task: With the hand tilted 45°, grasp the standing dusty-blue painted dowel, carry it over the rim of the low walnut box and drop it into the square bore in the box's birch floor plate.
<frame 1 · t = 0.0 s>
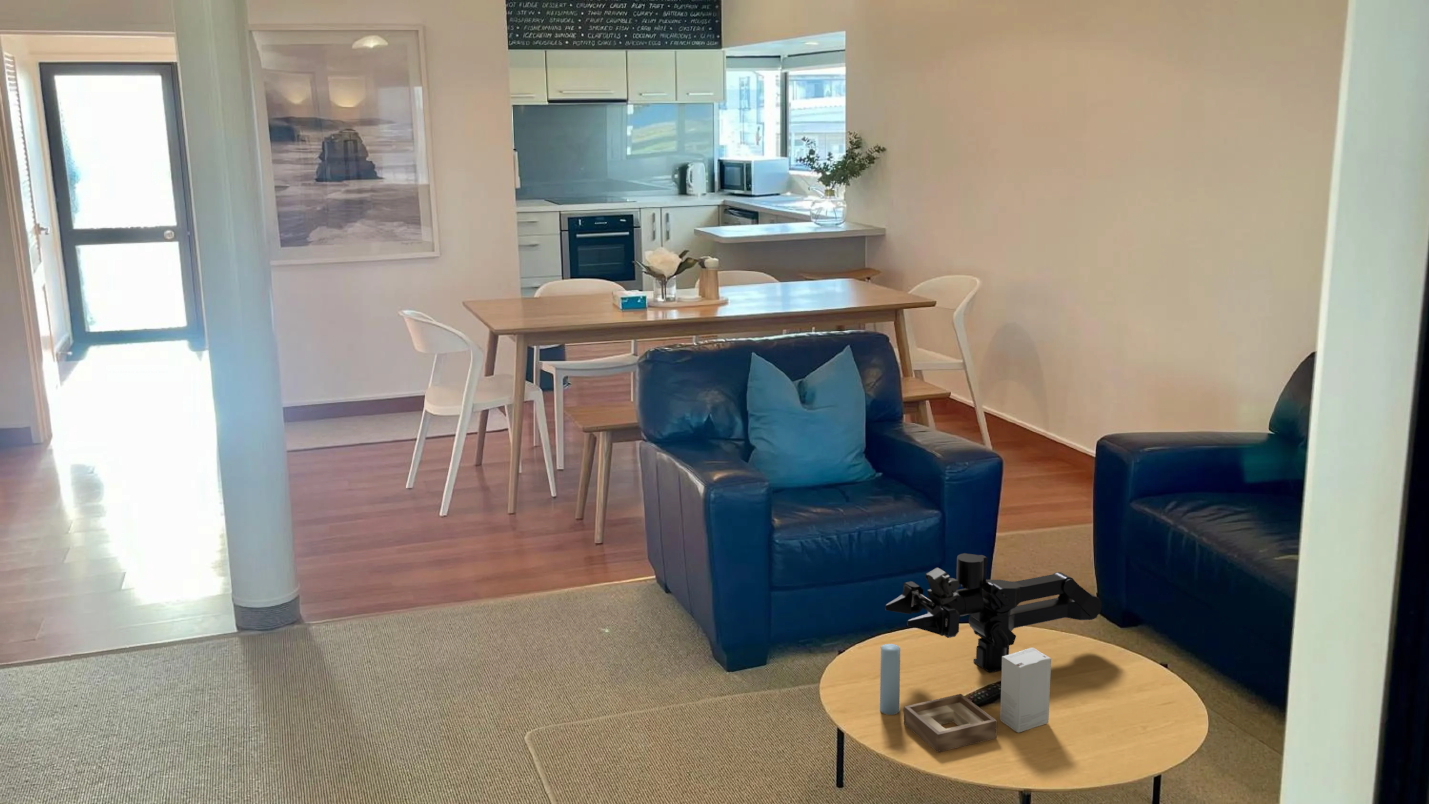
hand: (896, 615, 253), 17 cm above the table, tool horizontal, fingers open, 9 cm apart
bore box: (949, 730, 237), on the table
peg: (889, 710, 246), on the table
skincare box: (1023, 724, 239), on the table
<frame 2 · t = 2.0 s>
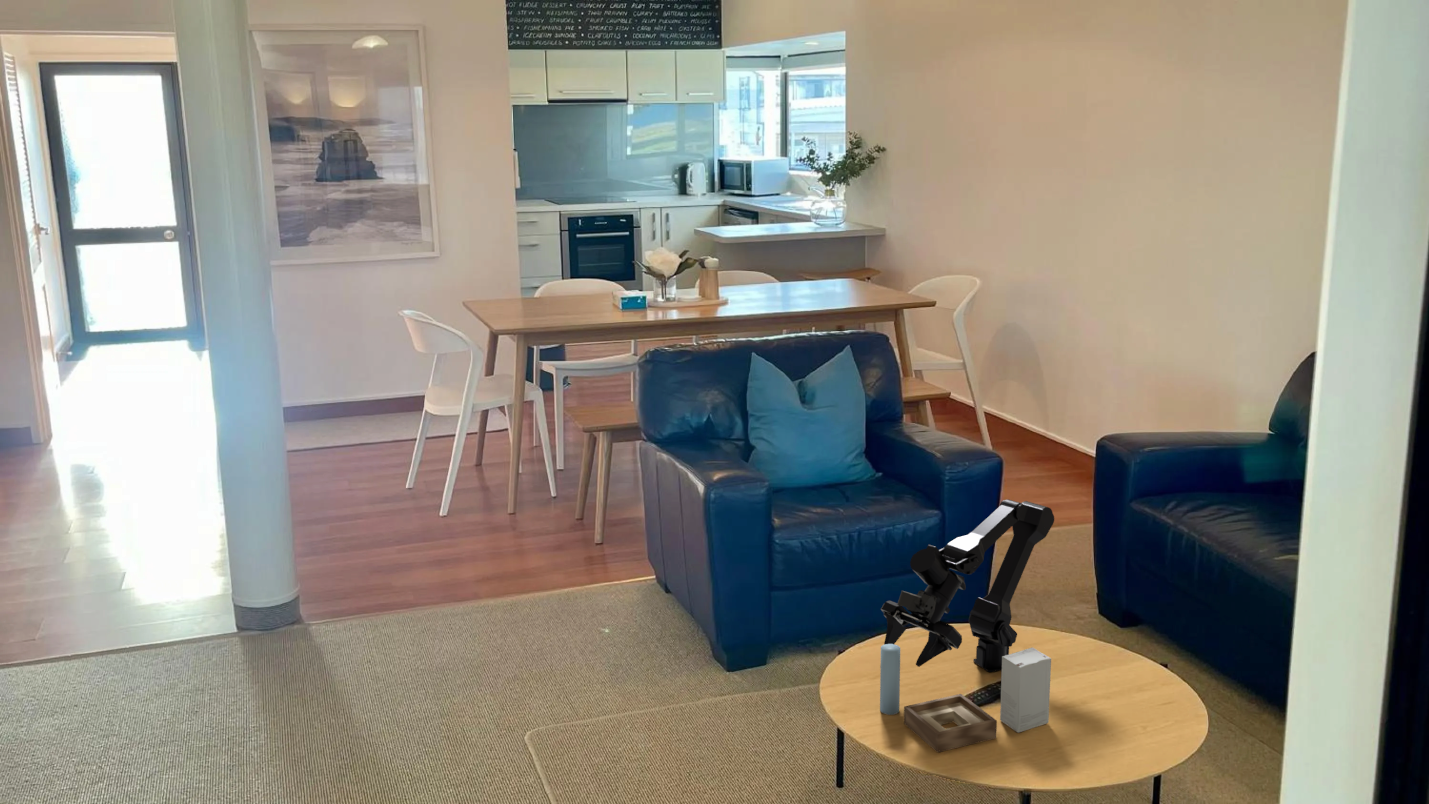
hand: (900, 658, 245), 11 cm above the table, tool tilted 45°, fingers open, 9 cm apart
nothing on the table moved.
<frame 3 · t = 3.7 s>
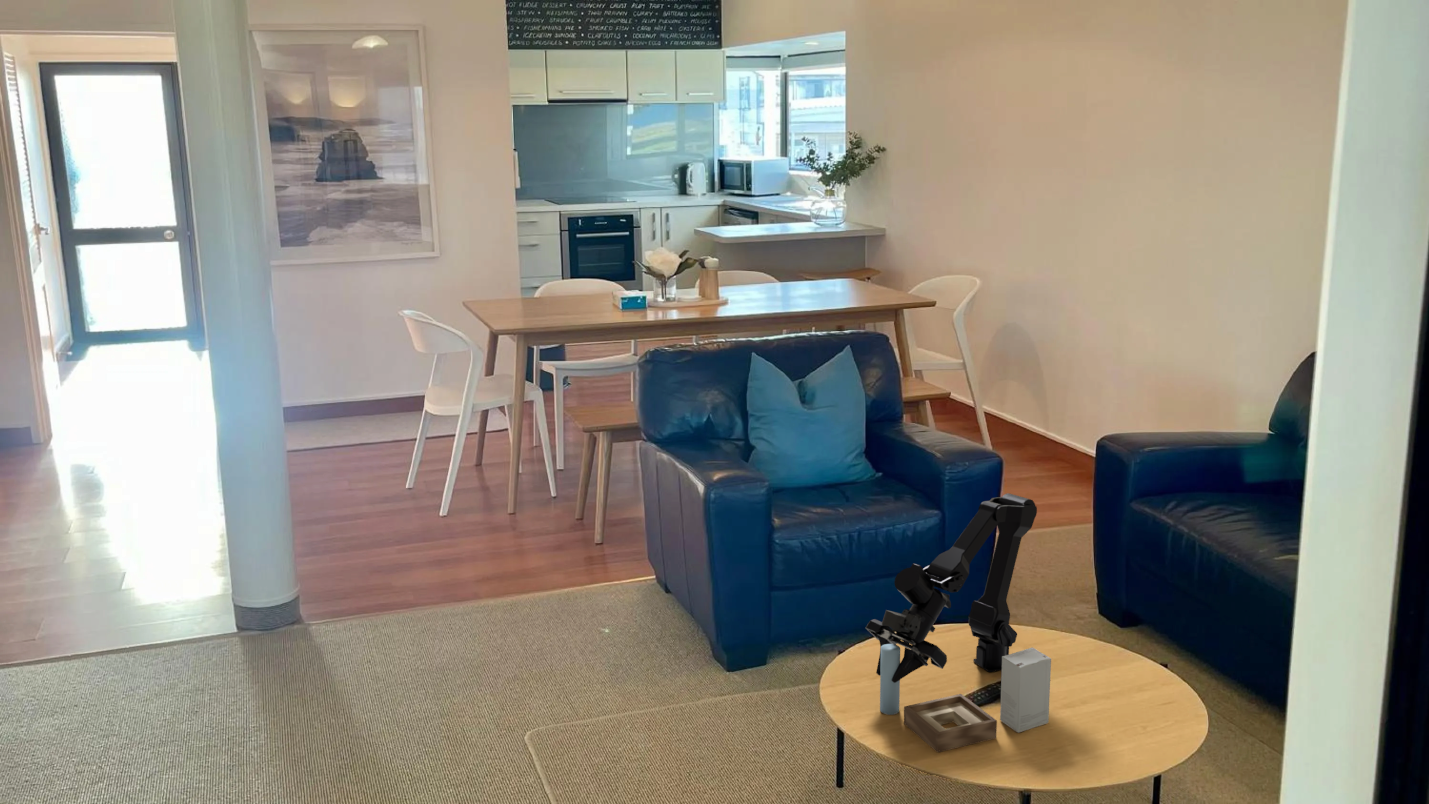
hand: (885, 678, 243), 8 cm above the table, tool tilted 45°, fingers closed on peg, 4 cm apart
peg: (889, 709, 246), on the table, touching gripper
everything else where it was.
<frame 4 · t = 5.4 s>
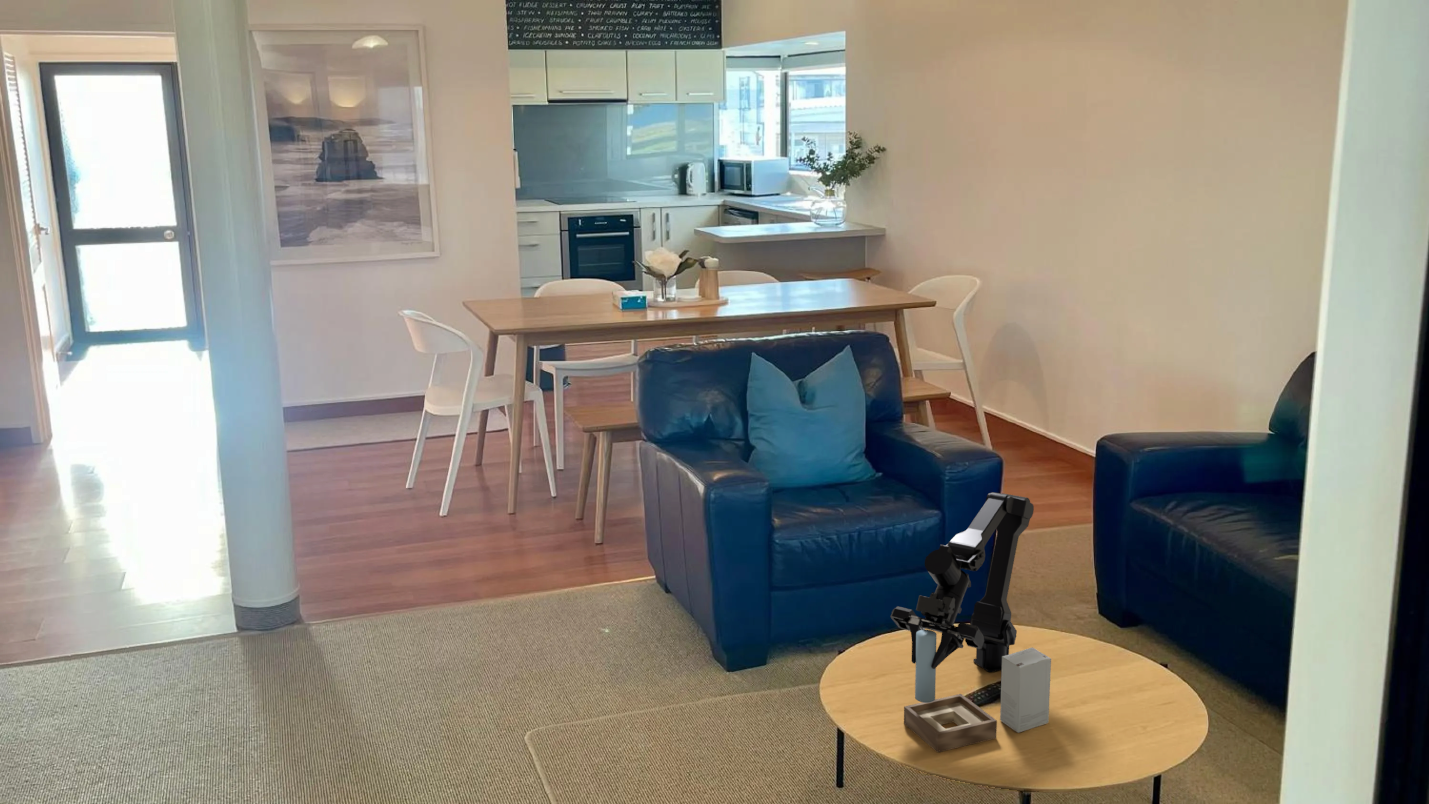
hand: (922, 665, 236), 13 cm above the table, tool tilted 45°, fingers closed on peg, 4 cm apart
peg: (925, 697, 239), point 6 cm above the table, touching gripper
everything else where it was.
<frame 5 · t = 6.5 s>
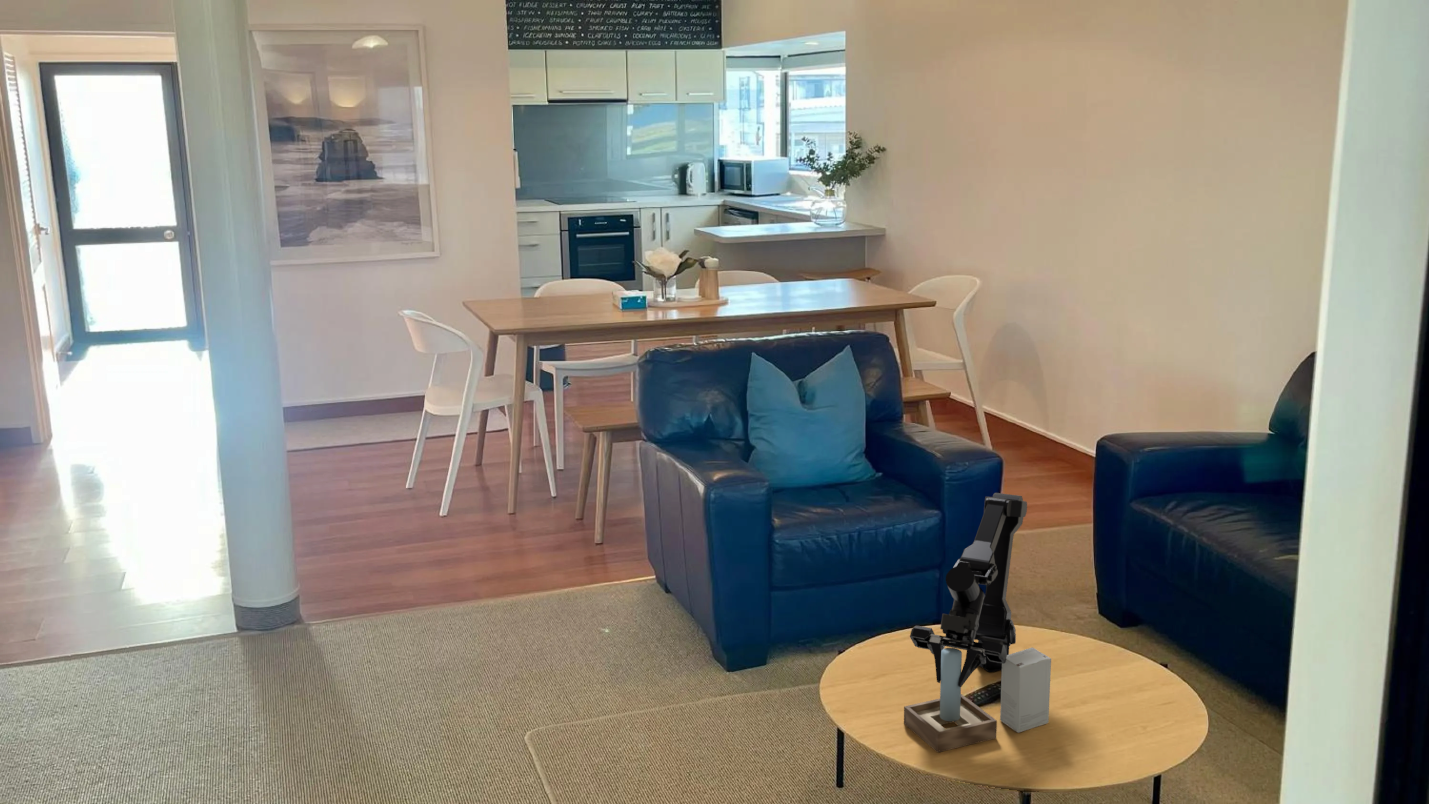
hand: (948, 684, 233), 11 cm above the table, tool tilted 45°, fingers closed on peg, 4 cm apart
peg: (949, 716, 236), point 3 cm above the table, touching gripper
everything else where it was.
when the fingers open (9 cm above the table, at t = 7.2 s): peg drops 1 cm, resting in bore box.
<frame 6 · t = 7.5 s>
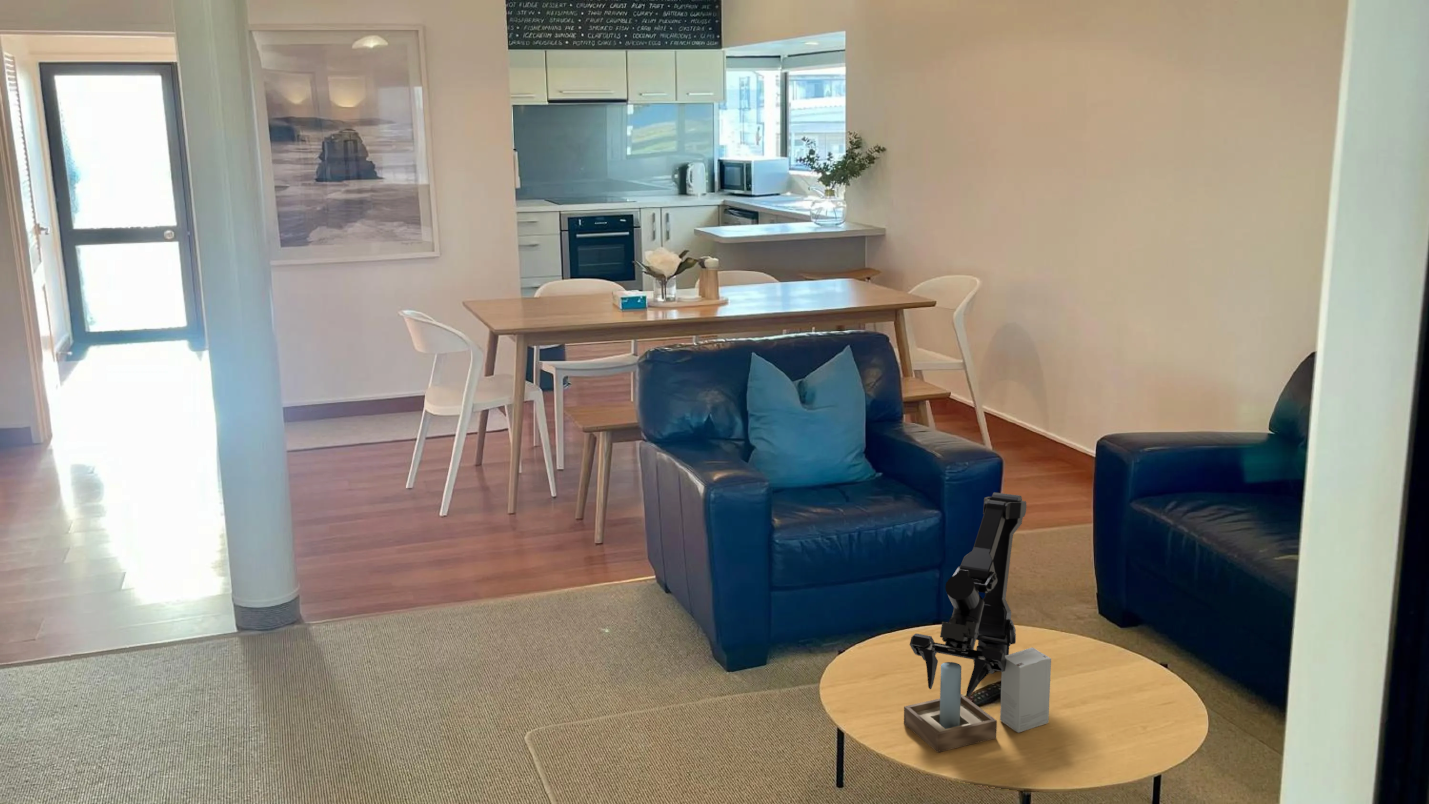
hand: (948, 692, 234), 9 cm above the table, tool tilted 45°, fingers open, 7 cm apart
peg: (949, 730, 237), resting in bore box
everything else where it was.
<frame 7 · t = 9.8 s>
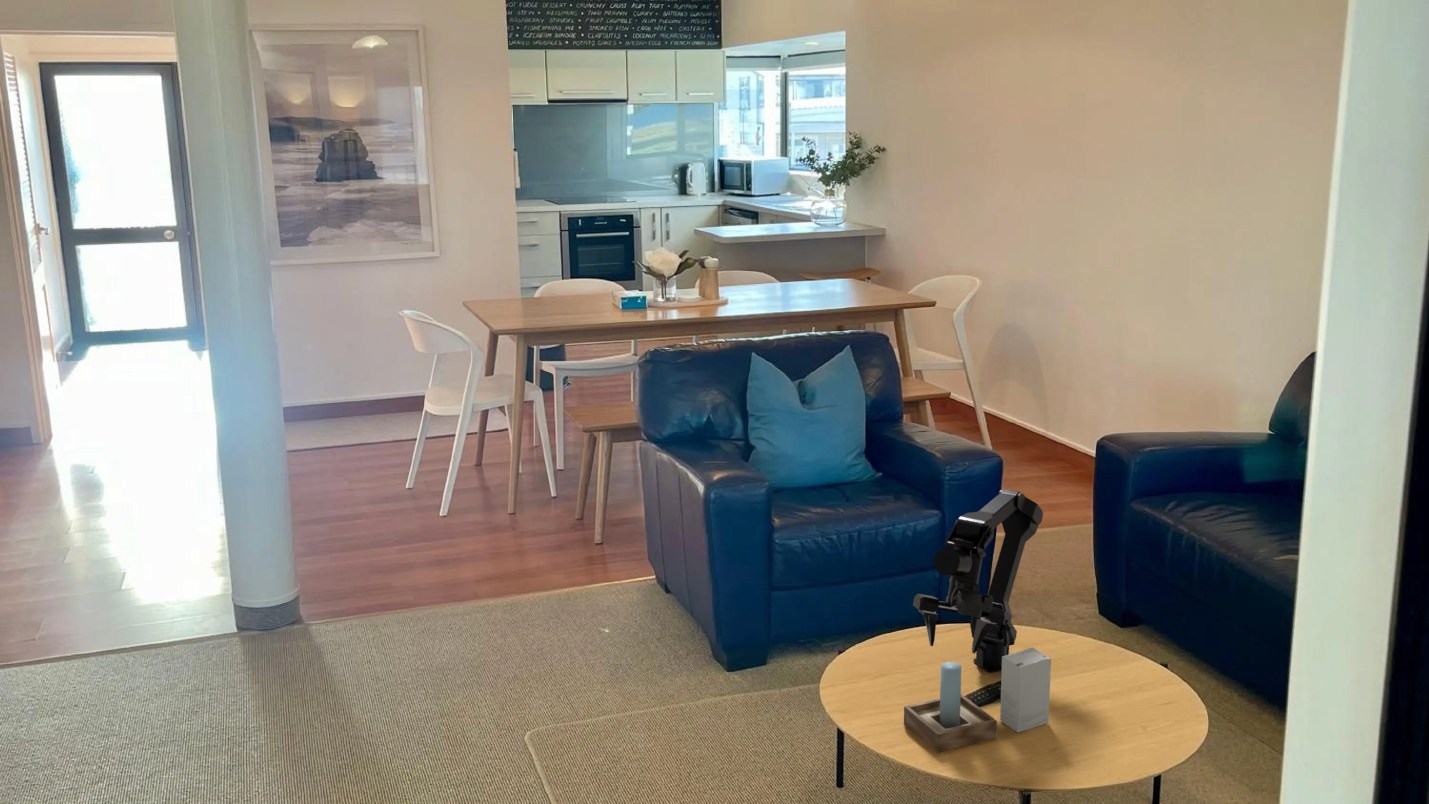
hand: (952, 649, 248), 11 cm above the table, tool tilted 20°, fingers open, 9 cm apart
nothing on the table moved.
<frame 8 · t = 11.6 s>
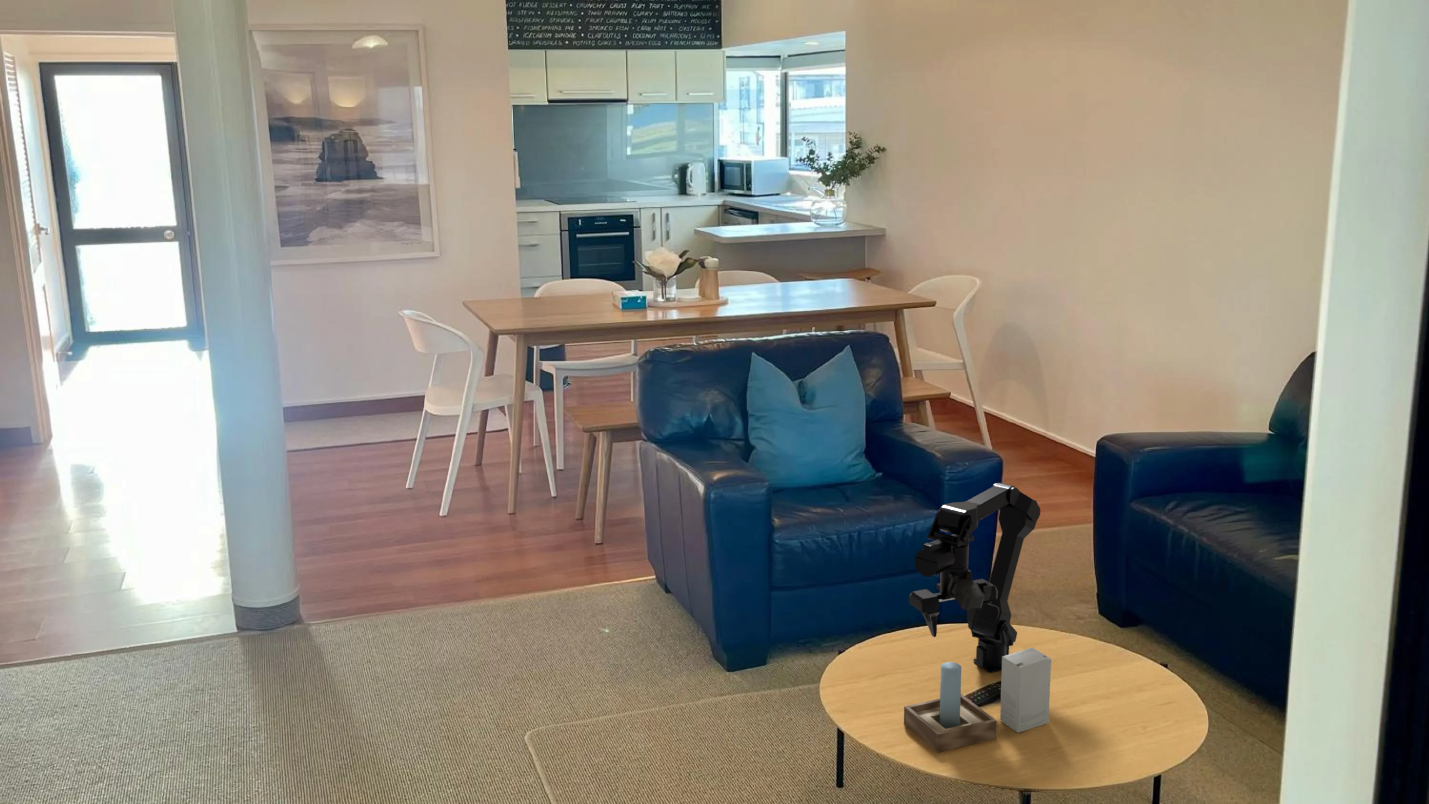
hand: (952, 632, 252), 13 cm above the table, tool pointing down, fingers open, 9 cm apart
nothing on the table moved.
at the end: peg 0.0 cm off-centre on the bore box, point 0.0 cm above the bore box's base; peg tilted 0°; the gripper is holding nothing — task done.
